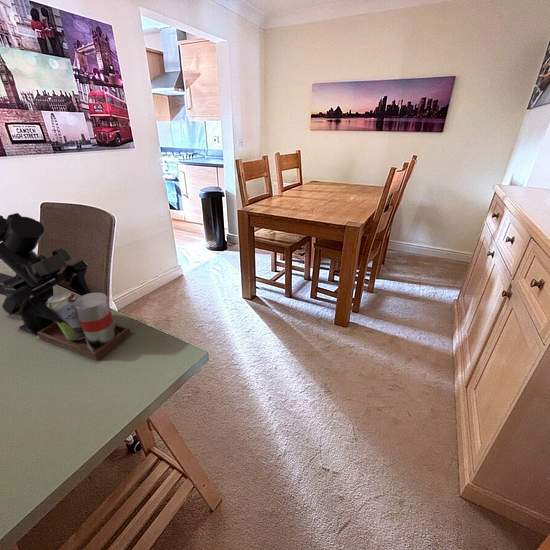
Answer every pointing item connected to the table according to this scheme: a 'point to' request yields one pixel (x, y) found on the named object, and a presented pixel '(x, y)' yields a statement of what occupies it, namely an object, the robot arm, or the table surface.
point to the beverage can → (66, 314)
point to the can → (95, 319)
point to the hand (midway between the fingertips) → (77, 310)
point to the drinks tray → (81, 341)
